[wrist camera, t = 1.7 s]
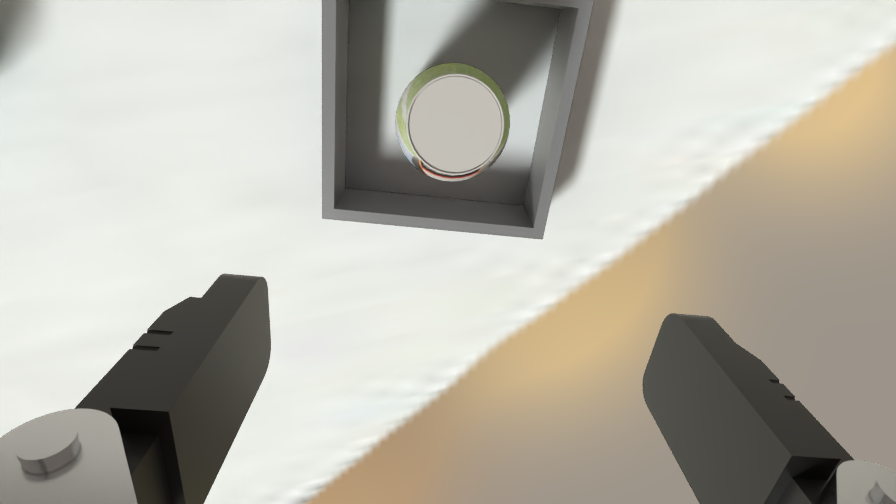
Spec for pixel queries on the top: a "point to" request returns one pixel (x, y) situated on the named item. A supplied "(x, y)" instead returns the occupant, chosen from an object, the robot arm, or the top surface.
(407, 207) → the bin
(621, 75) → the top surface
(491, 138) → the beverage can
